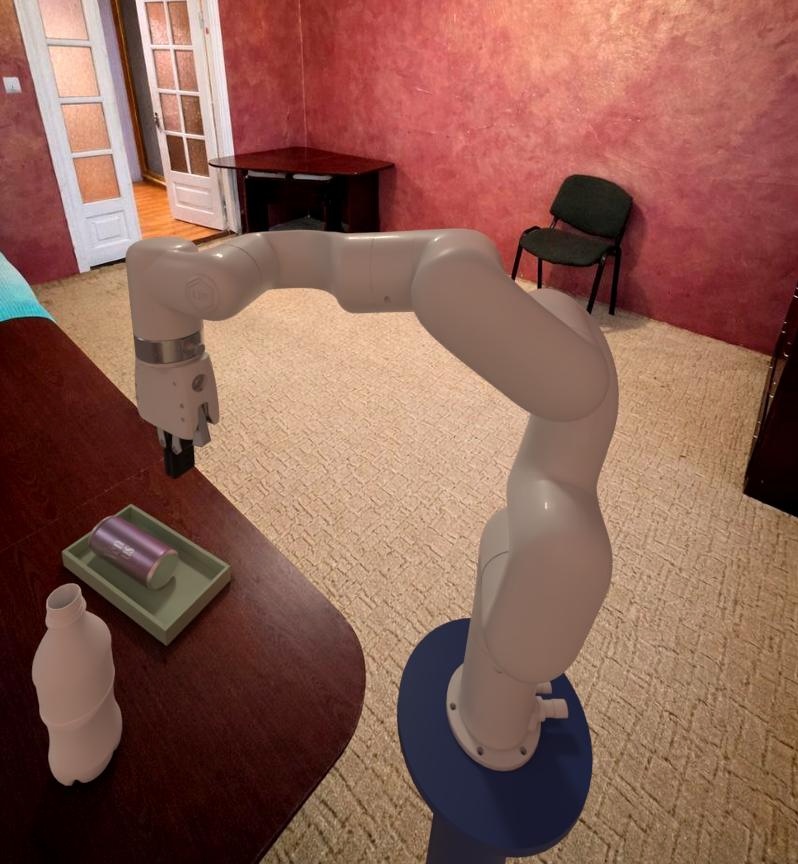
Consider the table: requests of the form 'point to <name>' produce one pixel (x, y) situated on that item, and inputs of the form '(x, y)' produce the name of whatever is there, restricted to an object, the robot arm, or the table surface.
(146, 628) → the tray
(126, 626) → the table surface
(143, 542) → the beverage can
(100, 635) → the water bottle
